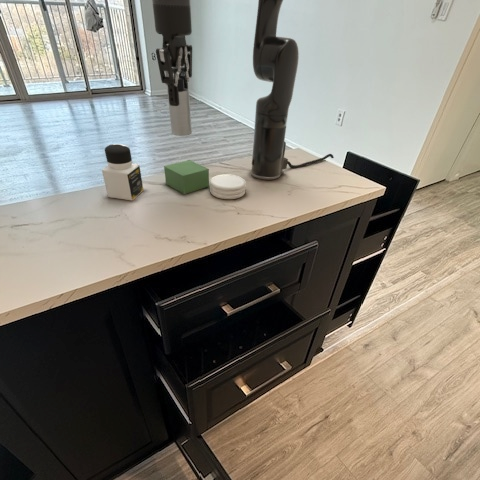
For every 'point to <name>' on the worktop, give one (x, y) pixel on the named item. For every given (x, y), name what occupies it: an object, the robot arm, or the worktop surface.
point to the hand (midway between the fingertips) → (179, 102)
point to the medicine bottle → (121, 173)
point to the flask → (181, 112)
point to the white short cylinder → (227, 186)
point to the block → (186, 176)
